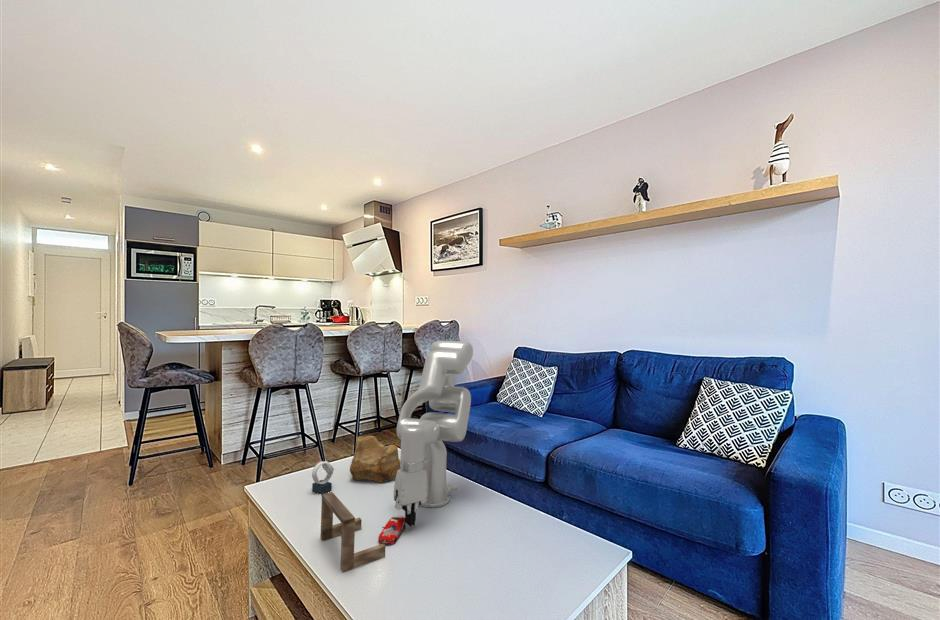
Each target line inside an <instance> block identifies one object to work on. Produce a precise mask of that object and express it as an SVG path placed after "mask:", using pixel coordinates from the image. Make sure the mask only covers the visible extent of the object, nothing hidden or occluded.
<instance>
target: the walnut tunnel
mask: <svg viewBox="0 0 940 620" xmlns="http://www.w3.org/2000/svg"><path fill="white" fill-rule="evenodd" d="M334 516H336V518H337V519H338V520H339V521H340V523H337V524H336V523H335V524H334V523H333V521H334ZM361 530H362V518H361V517H357V518H356V517H355V516H354V514H353V513H351V511H350V510H349V509H348V508H347V507H346V506H345V504H344V503H343V502H342V501H341V500H340V499H339V498H338V496H336V494H335V493H334V492H333V491H331V492H329V493H324V494H322V495H321V515H320V538H319V539H320V541H321V542H324V541H327V540H331V539H334V538H337V537H340V536H341V537H340V541H341V543H340V567H339V570H340V572H341V573H344V572H347V571H350V570H352V569H356V568H359V567H361V566H364V565H367V564H370V563H373V562H375V561H378V560H380V559H381V560H382V559H384V558H385V557H386V548H387V547H386V546H387V545H384V544H380V543H379V544H378V545H375V546H372V547H369V548H368V547H367V548H366V549H364V550H359V551H357V552H355V534H356V532H357V531H361Z"/></svg>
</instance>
